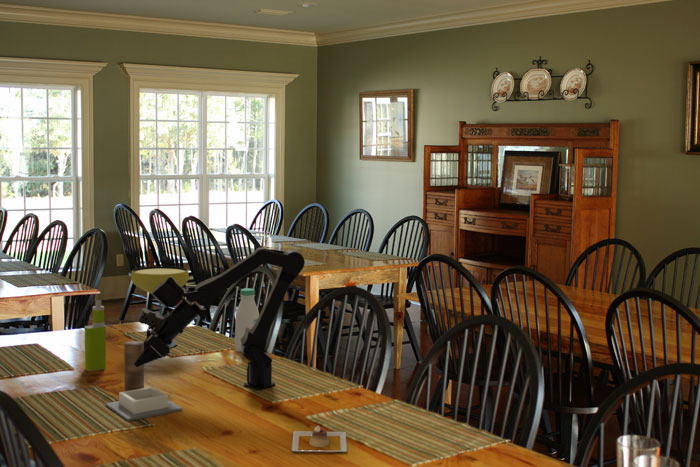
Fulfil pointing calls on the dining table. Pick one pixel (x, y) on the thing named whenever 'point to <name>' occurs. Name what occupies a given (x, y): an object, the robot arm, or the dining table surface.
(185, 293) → the robot arm
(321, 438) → the dessert
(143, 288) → the cocktail glass
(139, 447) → the dining table surface
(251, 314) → the milk bottle
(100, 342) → the vape
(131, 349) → the plug
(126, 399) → the socket dock
